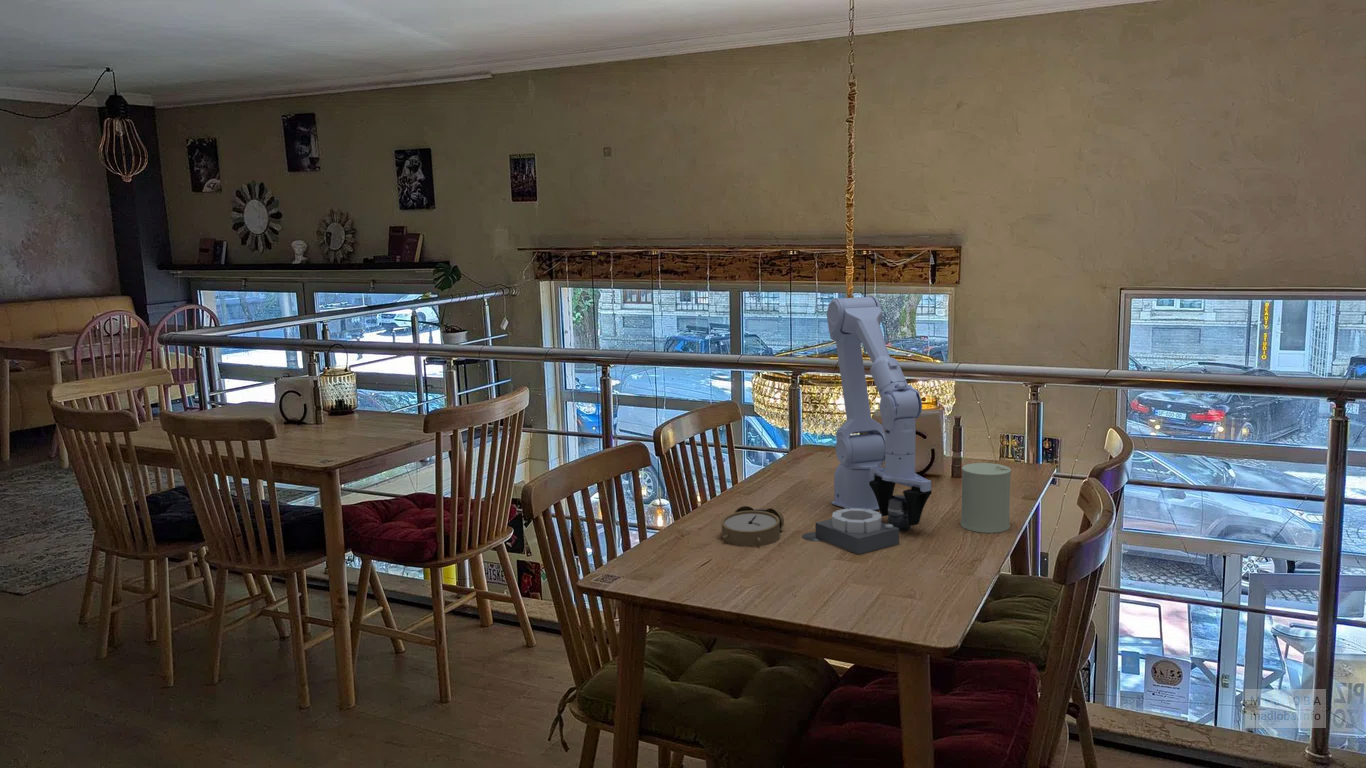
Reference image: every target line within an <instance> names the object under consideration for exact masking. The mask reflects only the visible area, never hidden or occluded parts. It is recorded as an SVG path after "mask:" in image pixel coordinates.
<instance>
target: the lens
mask: <svg viewBox="0 0 1366 768" xmlns="http://www.w3.org/2000/svg"><path fill="white" fill-rule="evenodd" d="M887 524H892V525H893V526H894V527H897V528H899V532H908V531H911V529H912V526H911V525H909V523H908V510H907V503H906V499H905V496H904V494H903V495H902V494H895V495H894V494H893V496H890V497H888V515H887Z"/></svg>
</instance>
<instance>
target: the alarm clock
mask: <svg viewBox="0 0 1366 768" xmlns="http://www.w3.org/2000/svg"><path fill="white" fill-rule="evenodd" d="M784 520H785V519H784V515H783V513H782V511H780V510H779V509H778V508H776V507H769V508H764V509H763V508H755V509H754V508H753V507H752V506H748V505H741V506H739V507H737V508H736V510H735V511H734V512H732V513H730V514H727V515H726V516H724V517H723V518H722V519H721V521H720V523H721V538H722V541H724V542H726V543H727V544H731V545H734V546H739V547H740V546H742V547H761V546H766V545H770V544H773V543H775V542H777V541H778V540H779V539H780V536H781V531H780V530H781V529H782V528H783V526H784V523H785V521H784Z"/></svg>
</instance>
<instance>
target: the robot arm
mask: <svg viewBox="0 0 1366 768" xmlns="http://www.w3.org/2000/svg"><path fill="white" fill-rule="evenodd" d="M826 310H827V311H826V321H827V326H828V333H829V338H830V340H832V341H833V342H835V346H836V352H837V361H838V367H839V372H840V381H841V387H842V396H843V401H844V408H845V416H846V421H845V422H843V424H841V425H840V427H838V429H837V430H836V432H835V440H836V441H835V442H836V443H835V453H836V458H837V460H838V461H839V463H840V464H838V465H837V467H836V469H835V471H834V474H833V475H834V476H833V477H834V479H833V481H834V485H833V486H834V487H833V488H834V491H833V492H834V495H833V496H834V497H833V498H834V500H832V501H831V504H832V505H834V506H837V507H840V508H843V509H846V508H847V509H850V508H861V509H866V510H868V509H870V510H873V511H878V510H879V513H880V514H882V517H888V497H890V496H893V495H894V491H895V486H896V484H898V485H902V486H905V487H908V488H909V489H905V490H903V491H902V494H903V495H904V496H905V499H906V503H907V510H908V523H909V525H911V527H913V526H916V525H919V524H920V520H921V517H922V514H923V510H924V509H925V505H926V504H927V501H928V499H929V498H930V496H931V495H932V492H933V491H932V490H933V489H932V480H930V479H927V478H924V477H923V476H921V475H920V474H918V473H916V431H917V428H916V424H917V423H916V419H918V418H919V417H920V416H921V414H922V411H923V403H922V401H923V400H922V398H921V395H920V391H918V390H917V389H916V388H914V387H913V385H912V384H909V383H908V381H907V379H906V377H905V375H904V373H903V371H902V370H903V369H902V368H901V366H900V362H899V361H898V359H896V358H895V357H892V356H890V354H889V351H888V350H889V349H888V347H887V344H886V341H885V337H884V336H883V331H882V329H881V323H882V316H883V310H882V306H881V303H880V301H879V300H878V298H877V297H876V296H874V295H869V296H863V297H846V298H845V297H844V298H838V297H834V298H832V299H831V301H830V302H829V304H828V306H827V309H826ZM862 346H863V348H864V349H865V351H866V353H867V355H868V357H869V358H870V361H871V362H872V365H871V367H870V371H869V372H870V376H871V377H872V379H873V381H874V382H873V383H874V385H875V387H876V389H877V392H878V394H879V396H880V401H879V404H878V408H879V413H880V416H881V421H882V424H881V423H879V422H878V421H877V420H875V419H874V418H872V413H871V407H870V401H869V400H870V399H869V393H868V386H867V379H866V374H865V373H866V372H865V364H864V359H863V352H862V351H863V350H862ZM852 434H854V435H852ZM883 466H884V467H883Z"/></svg>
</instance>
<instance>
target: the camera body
mask: <svg viewBox="0 0 1366 768" xmlns="http://www.w3.org/2000/svg"><path fill="white" fill-rule="evenodd" d="M831 515H832V516H831V518H830V519H826V520H822V521H817V522H815V532H816V538H817V539H820V540H822V541H821V542H825V543H828V544H830V545H832V546H835V547H837V548H840V549H843V550H845V551H848V552H850V553H851V552H852V553H854V554H856V555H864V554H866V553H871V552H874V551H878V550H883V549H884V548H885V549H886V548H889V547H893V546H896V545H899V544H900V531H899V528H897V527H894V526H893V525H892V524H888V523H884V522H882V521H883V520H882V517H883V516H882V514H880V511H877V510H874V511H873V510H870V509H868V510H866V509H861V508H850V509H847V508H843V509H838V510H835V511H833V512H832V514H831Z"/></svg>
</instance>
